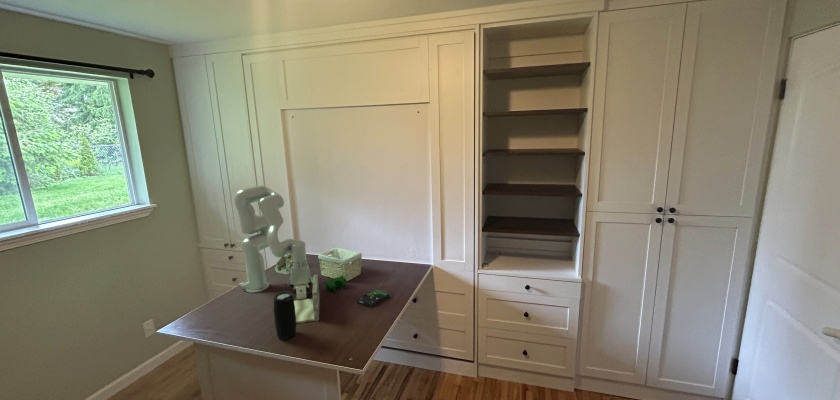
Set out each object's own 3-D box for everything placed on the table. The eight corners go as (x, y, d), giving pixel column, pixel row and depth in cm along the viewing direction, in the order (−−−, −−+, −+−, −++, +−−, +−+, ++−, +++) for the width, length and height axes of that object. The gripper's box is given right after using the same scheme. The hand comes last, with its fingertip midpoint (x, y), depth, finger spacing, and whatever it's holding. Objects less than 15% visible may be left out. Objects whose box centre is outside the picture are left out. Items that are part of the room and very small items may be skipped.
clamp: (332, 299, 192) (328, 289, 187) (327, 293, 196) (322, 283, 191) (349, 286, 198) (345, 276, 193) (344, 280, 202) (340, 270, 197)
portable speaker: (288, 327, 156) (285, 288, 152) (301, 334, 151) (298, 293, 147) (271, 336, 149) (267, 296, 145) (285, 343, 144) (281, 301, 140)
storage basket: (318, 275, 214) (316, 253, 212) (336, 267, 228) (335, 246, 225) (346, 283, 202) (344, 260, 199) (363, 274, 216) (362, 252, 213)
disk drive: (371, 309, 173) (390, 297, 185) (371, 304, 172) (389, 292, 184) (357, 304, 179) (375, 292, 191) (357, 299, 178) (375, 288, 190)
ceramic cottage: (275, 266, 229) (274, 246, 226) (301, 265, 233) (300, 245, 230) (272, 277, 215) (270, 255, 211) (299, 275, 219) (298, 254, 215)
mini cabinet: (296, 300, 182) (295, 288, 181) (298, 292, 192) (297, 280, 190) (306, 299, 183) (305, 287, 182) (307, 291, 193) (306, 279, 192)
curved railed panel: (276, 326, 157) (273, 297, 154) (282, 304, 178) (279, 278, 175) (318, 320, 162) (316, 292, 159) (319, 299, 183) (317, 274, 180)
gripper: (282, 267, 179) (285, 299, 182) (315, 264, 183) (317, 295, 187) (283, 262, 186) (286, 293, 189) (315, 259, 190) (318, 289, 194)
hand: (302, 293), depth 188 cm, fingers closed on mini cabinet, 5 cm apart
